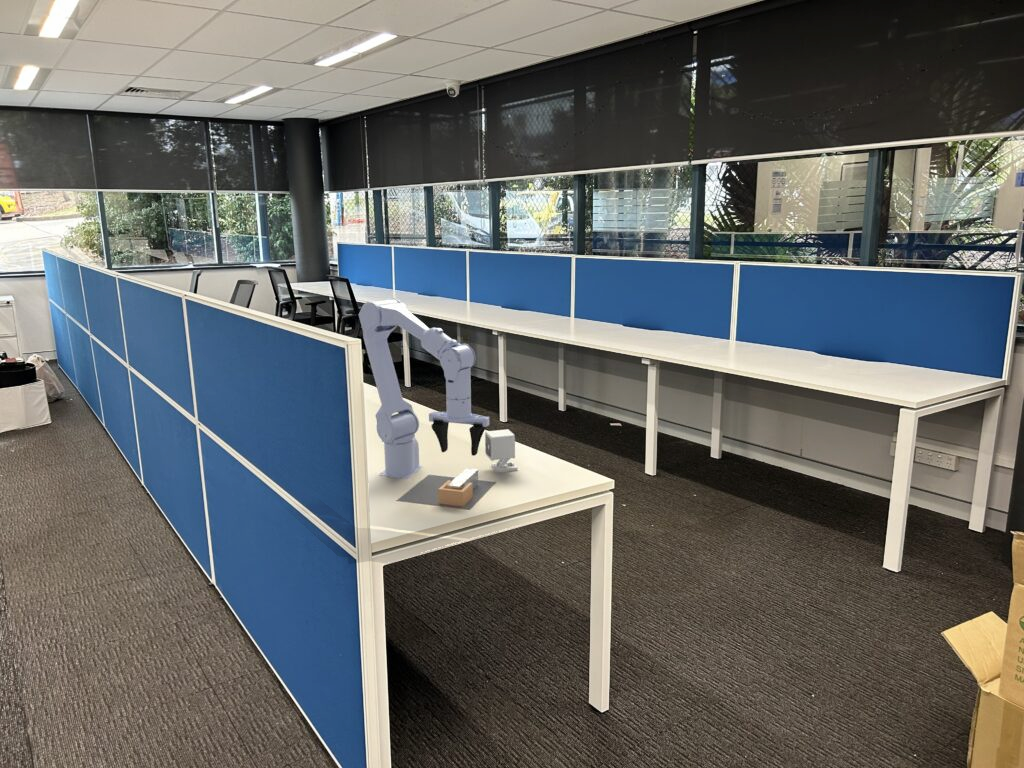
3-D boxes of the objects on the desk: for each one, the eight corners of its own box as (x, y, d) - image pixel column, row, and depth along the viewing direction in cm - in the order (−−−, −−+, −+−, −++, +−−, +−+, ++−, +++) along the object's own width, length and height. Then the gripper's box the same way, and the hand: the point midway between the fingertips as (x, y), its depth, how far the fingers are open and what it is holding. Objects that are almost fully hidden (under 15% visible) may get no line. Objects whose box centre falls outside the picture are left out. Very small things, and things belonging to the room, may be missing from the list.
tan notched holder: (448, 494, 173) (448, 480, 172) (472, 497, 171) (472, 483, 170) (438, 503, 167) (438, 489, 167) (463, 506, 166) (463, 491, 165)
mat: (428, 476, 186) (428, 474, 186) (496, 484, 181) (496, 482, 181) (396, 502, 169) (396, 500, 169) (469, 511, 164) (469, 509, 164)
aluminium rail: (466, 483, 180) (466, 468, 179) (478, 485, 179) (478, 469, 178) (447, 501, 168) (447, 485, 168) (459, 503, 168) (459, 486, 167)
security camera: (485, 467, 192) (484, 430, 190) (510, 464, 195) (510, 428, 192) (491, 475, 187) (491, 437, 184) (518, 472, 189) (518, 435, 186)
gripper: (422, 398, 170) (424, 454, 174) (481, 403, 166) (482, 461, 169) (435, 391, 177) (436, 445, 180) (492, 396, 173) (492, 451, 176)
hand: (459, 452), depth 175 cm, fingers open, 7 cm apart
